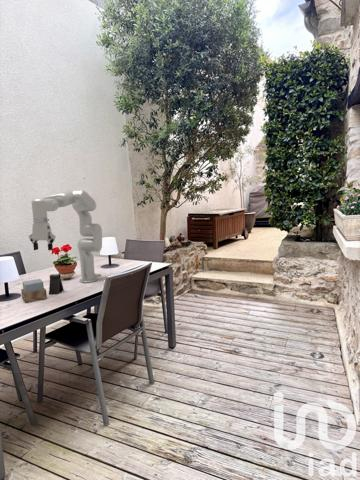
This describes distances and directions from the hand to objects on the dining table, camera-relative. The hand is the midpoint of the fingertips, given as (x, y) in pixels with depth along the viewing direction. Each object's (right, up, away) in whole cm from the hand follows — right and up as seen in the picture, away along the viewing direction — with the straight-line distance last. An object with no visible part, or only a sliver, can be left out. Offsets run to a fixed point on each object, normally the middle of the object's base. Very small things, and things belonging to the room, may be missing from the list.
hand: (43, 250), depth 175 cm
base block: (-10, -31, +10) cm, 34 cm away
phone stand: (-1, -29, +21) cm, 36 cm away
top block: (-10, -25, +9) cm, 28 cm away
